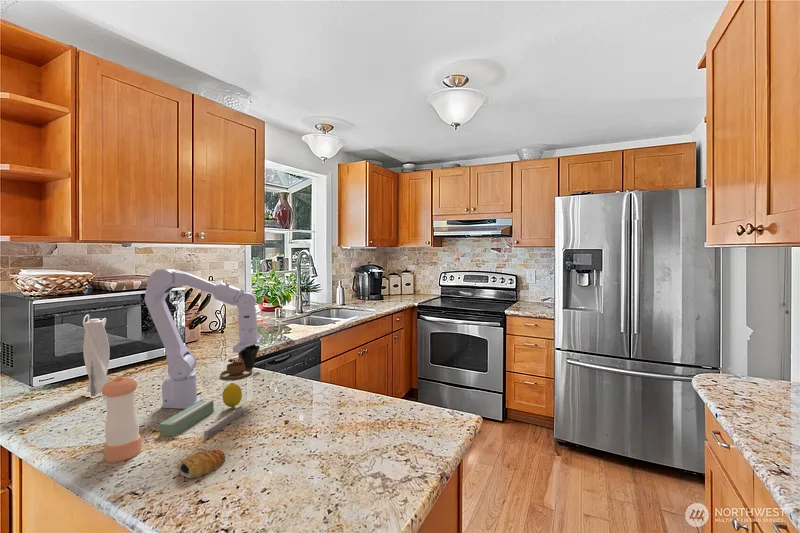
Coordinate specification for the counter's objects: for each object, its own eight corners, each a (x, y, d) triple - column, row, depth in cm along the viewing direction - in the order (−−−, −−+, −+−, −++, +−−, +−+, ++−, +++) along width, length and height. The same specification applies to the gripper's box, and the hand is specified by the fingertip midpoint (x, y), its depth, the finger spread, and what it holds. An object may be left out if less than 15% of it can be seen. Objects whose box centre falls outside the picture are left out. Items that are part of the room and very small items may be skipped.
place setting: (206, 380, 152) (205, 365, 152) (240, 364, 171) (239, 351, 171) (245, 382, 147) (245, 367, 147) (275, 366, 167) (275, 353, 166)
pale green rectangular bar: (159, 434, 105) (159, 421, 105) (200, 410, 121) (200, 399, 120) (174, 435, 104) (173, 422, 104) (213, 411, 120) (213, 399, 120)
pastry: (215, 454, 94) (214, 439, 94) (232, 462, 90) (231, 446, 90) (175, 474, 86) (174, 457, 86) (192, 483, 83) (191, 466, 82)
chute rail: (204, 438, 102) (204, 430, 102) (240, 412, 118) (240, 406, 118) (207, 438, 102) (207, 430, 102) (243, 412, 118) (243, 406, 118)
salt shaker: (148, 448, 97) (144, 373, 97) (119, 464, 91) (114, 382, 90) (127, 444, 100) (123, 370, 99) (97, 459, 93) (92, 380, 92)
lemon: (235, 412, 119) (234, 386, 118) (219, 411, 120) (218, 385, 119) (246, 405, 124) (245, 380, 124) (230, 404, 125) (229, 379, 125)
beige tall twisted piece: (78, 396, 136) (72, 316, 135) (103, 388, 144) (98, 312, 143) (93, 398, 133) (88, 317, 132) (118, 390, 141) (113, 313, 139)
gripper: (246, 333, 123) (248, 375, 123) (270, 324, 137) (271, 362, 138) (226, 332, 124) (228, 375, 125) (251, 324, 138) (253, 361, 139)
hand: (249, 368), depth 131 cm, fingers closed
